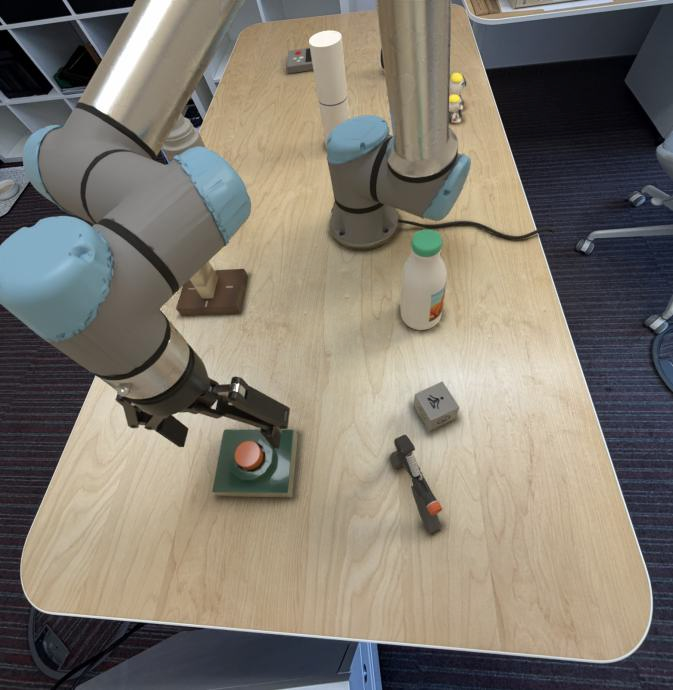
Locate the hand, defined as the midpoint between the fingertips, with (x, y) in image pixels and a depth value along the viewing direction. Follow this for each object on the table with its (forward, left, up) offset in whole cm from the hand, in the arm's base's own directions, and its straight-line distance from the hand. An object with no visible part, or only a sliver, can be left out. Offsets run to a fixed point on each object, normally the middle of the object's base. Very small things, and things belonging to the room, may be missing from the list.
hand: (230, 438), depth 57 cm
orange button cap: (0, 0, -8) cm, 9 cm away
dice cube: (-29, -9, -13) cm, 33 cm away
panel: (+15, -36, -13) cm, 41 cm away
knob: (+15, -36, -11) cm, 40 cm away
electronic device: (+1, -131, -13) cm, 131 cm away
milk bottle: (-28, -29, -13) cm, 42 cm away
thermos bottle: (+18, -58, -13) cm, 62 cm away
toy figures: (-41, -95, -13) cm, 104 cm away
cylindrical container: (-10, -85, -13) cm, 86 cm away
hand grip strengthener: (-25, +4, -13) cm, 29 cm away
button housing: (0, 0, -13) cm, 13 cm away
